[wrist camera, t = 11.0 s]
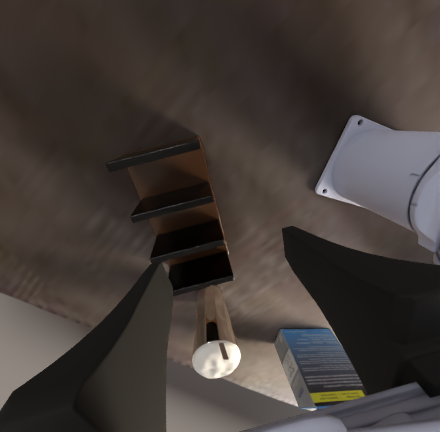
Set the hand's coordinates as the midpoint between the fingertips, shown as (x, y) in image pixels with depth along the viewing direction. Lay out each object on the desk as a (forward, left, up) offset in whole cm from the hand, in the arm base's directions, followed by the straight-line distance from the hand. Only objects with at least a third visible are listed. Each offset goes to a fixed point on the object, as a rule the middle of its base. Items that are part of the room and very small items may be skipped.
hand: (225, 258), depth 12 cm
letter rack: (+3, +2, -10) cm, 11 cm away
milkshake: (-3, +12, -11) cm, 17 cm away
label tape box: (-20, +18, -11) cm, 30 cm away
